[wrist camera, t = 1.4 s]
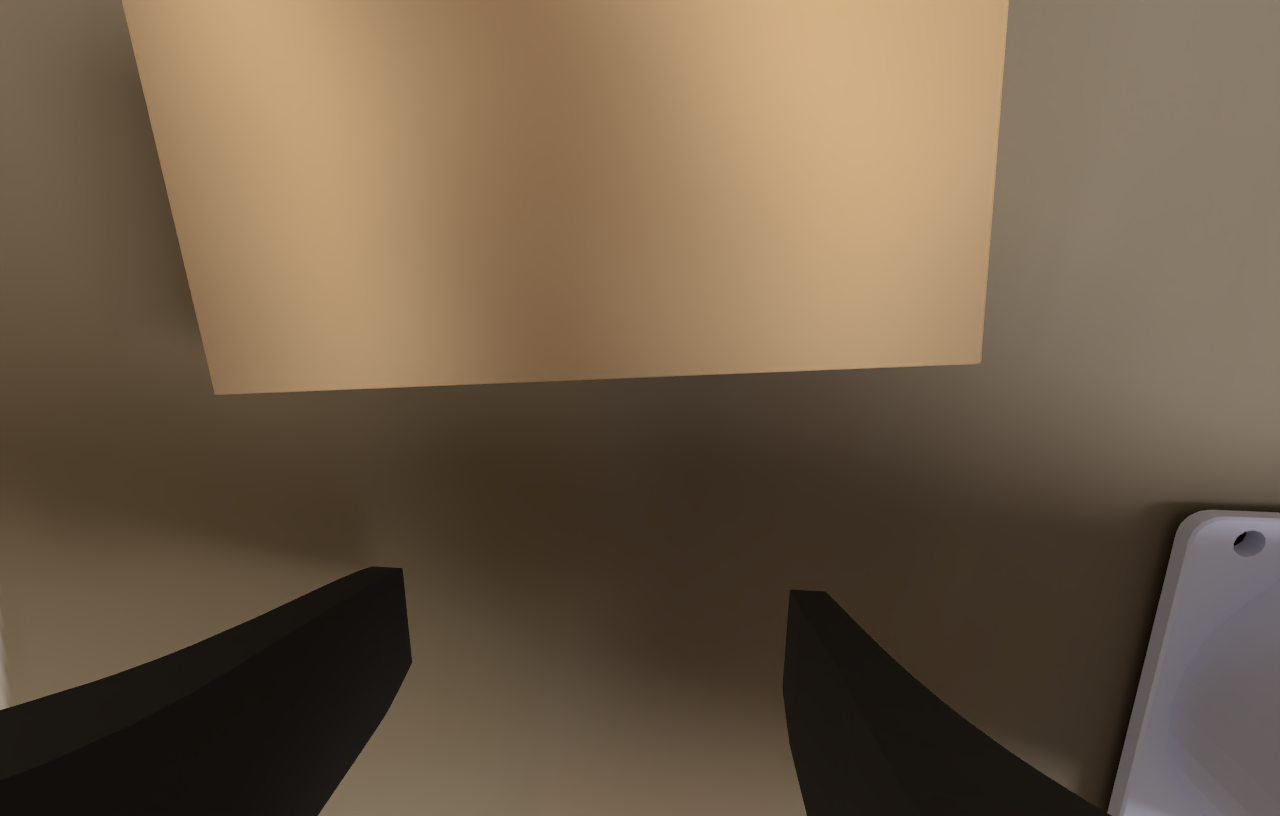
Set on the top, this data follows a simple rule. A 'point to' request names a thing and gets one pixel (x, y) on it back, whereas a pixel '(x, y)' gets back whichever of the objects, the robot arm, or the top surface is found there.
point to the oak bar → (575, 185)
